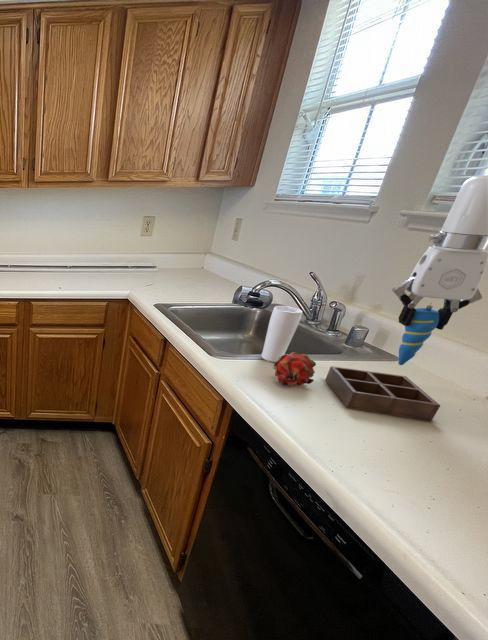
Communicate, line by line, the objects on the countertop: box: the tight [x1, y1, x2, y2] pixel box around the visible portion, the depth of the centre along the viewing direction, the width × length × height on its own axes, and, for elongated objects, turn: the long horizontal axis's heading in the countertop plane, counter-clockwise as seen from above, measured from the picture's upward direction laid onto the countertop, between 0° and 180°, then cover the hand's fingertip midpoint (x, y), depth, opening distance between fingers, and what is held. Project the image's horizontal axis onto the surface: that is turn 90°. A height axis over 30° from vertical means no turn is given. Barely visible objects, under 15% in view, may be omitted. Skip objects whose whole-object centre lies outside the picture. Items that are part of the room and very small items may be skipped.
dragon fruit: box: [272, 351, 317, 387], centre depth 105 cm, size 8×8×12 cm
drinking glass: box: [260, 305, 303, 363], centre depth 117 cm, size 7×7×15 cm
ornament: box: [398, 302, 439, 366], centre depth 95 cm, size 5×5×15 cm
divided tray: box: [324, 365, 441, 422], centre depth 99 cm, size 15×15×4 cm
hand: (420, 325), depth 94 cm, fingers closed on ornament, 5 cm apart
